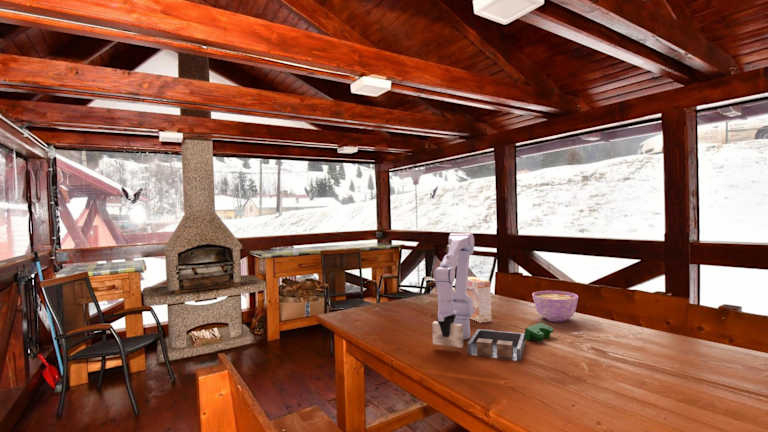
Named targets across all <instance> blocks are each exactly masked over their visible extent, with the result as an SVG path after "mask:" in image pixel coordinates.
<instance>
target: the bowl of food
mask: <svg viewBox="0 0 768 432" xmlns="http://www.w3.org/2000/svg"><path fill="white" fill-rule="evenodd" d="M531 295H532V299H533V301H534V306H535V309H536V311H537V313H538V315H540V316H541V317H542V318H544V319H546V320H547V321H550V322H555V323H556V322H557V323H559V322H564V321H566V320H568V319H571V318H572V317H573V316H574V315H575V312H576V310H577V305H578V300H579V296H578V294H576V293H573V292H569V291H561V290H540V291H536V292H535V291H533V293H532V294H531Z"/></svg>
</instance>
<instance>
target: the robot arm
mask: <svg viewBox="0 0 768 432" xmlns="http://www.w3.org/2000/svg"><path fill="white" fill-rule="evenodd" d="M448 245H449V248H448V249H449V250H448V253H447V254H445V255H444V256H443V258H442V260H441V263H440V265H439V267H436V268H435V270H434V281H435V287H436V288H437V307H438V308H437V309H438V310H437V317H436V321H437V322H438V323H439V325H440V328H441V331H442V335H443V337H449V333H450V325H451V323H457V324H463V340H469V339H471V325H470V323H471V320H470V317H471V316H472V315H473V300H472V298H471V297H470V296H469V295H467V281H468V277H469V265H470V263H469V262H470V256H471V255H473V254H474V251H475V237H474V235H473V233H472V232H469V233H468V232H467V233H466V232H465V233H462V232H461V233H456V232H455V233H453V232H451V233H449V235H448ZM455 276H456V277H455ZM454 282H455V289H454V287H453V286H454V285H453V284H454ZM454 290H455V292H454ZM463 301H467V302H463Z"/></svg>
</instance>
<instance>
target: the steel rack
mask: <svg viewBox="0 0 768 432" xmlns="http://www.w3.org/2000/svg"><path fill="white" fill-rule="evenodd" d="M479 338H482V339H492V340H493V353H492V355H491V356H489V355H480V354H477V340H478V339H479ZM498 340H501V341H511V342H513V356H512V358H505V357H497V342H498ZM525 346H526V340H525V332H524V333H523V332H514V331H512V332H511V331H502V330H493V329H482V328H481V329H480V328H477V329H476V330H475V332H474V333H473V335H472V336H471V337H470V338H469V339H468V342H467V355H468V356H476V357H484V358H493V359H500V360H508V361H515V362H521V361H522V357H523V353H524V349H525Z"/></svg>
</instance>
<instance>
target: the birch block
mask: <svg viewBox="0 0 768 432" xmlns="http://www.w3.org/2000/svg"><path fill="white" fill-rule="evenodd" d="M431 326H432V345H437V346H445V347H452V348H461V349H463V347H464V339H463V324H457V323H451V325H450V333H449V337H443V335H442V331H441V328H440V325H439V323H438V322H437V320H433V322H432V324H431Z"/></svg>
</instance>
